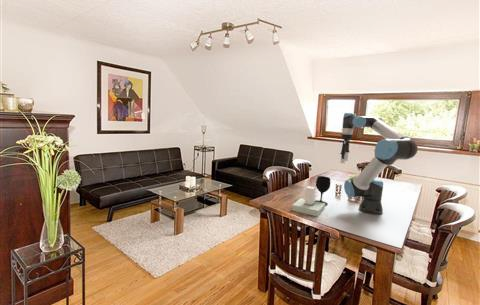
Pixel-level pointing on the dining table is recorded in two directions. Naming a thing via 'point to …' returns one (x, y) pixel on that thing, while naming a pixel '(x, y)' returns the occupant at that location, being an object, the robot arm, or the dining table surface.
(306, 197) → the plug
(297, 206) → the socket plate
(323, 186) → the wine glass
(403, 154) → the robot arm
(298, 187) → the dining table surface
